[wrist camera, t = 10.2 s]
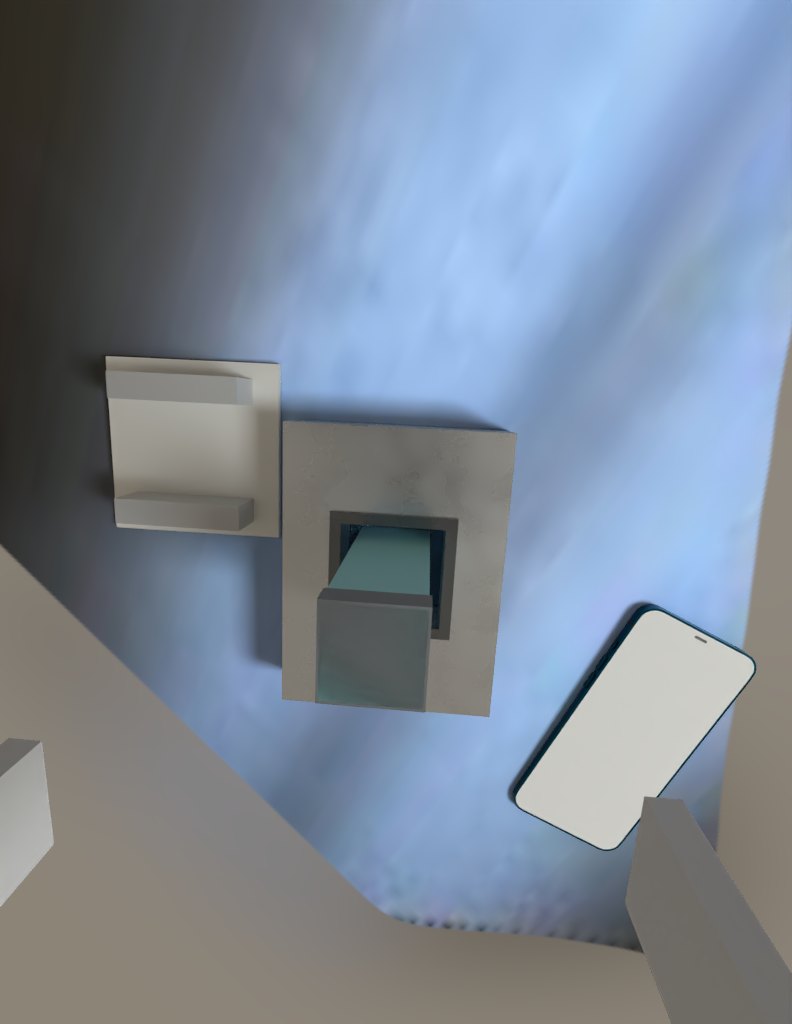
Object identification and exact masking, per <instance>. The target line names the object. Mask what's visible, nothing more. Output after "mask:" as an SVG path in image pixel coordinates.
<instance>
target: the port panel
mask: <svg viewBox="0 0 792 1024" xmlns="http://www.w3.org/2000/svg"><path fill="white" fill-rule="evenodd" d="M516 440H517V433H514V432H511V431H503V430H484V429H465V428H447V427H428V426H409V425H390V424H371V423H352V422H334V421H315V420H288V421H283V544H282V699H284V700H295V701H307V702H315V675H316V621H317V598H318V596H319V595H320V593H321V591H322V590H323V588H328V586H329V585H330V583H331V581H332V579H333V578H334V576H335V574H336V572H337V571H338V569H339V567H340V565H341V564H342V562H343V560H344V558H345V557H346V555H347V553H348V551H349V533H350V524H355V525H371V526H386V527H402V528H417V529H433V530H444V535H443V548H442V562H441V576H440V590H439V604H438V607H434V606H433V609H432V623H431V638H430V652H429V666H428V681H427V695H426V710H425V712H437V713H449V714H461V715H473V716H484V717H489V714H490V704H491V693H492V683H493V673H494V663H495V653H496V643H497V633H498V623H499V612H500V602H501V592H502V582H503V572H504V562H505V552H506V541H507V531H508V521H509V511H510V501H511V491H512V481H513V471H514V460H515V450H516Z"/></svg>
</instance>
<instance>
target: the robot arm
mask: <svg viewBox="0 0 792 1024" xmlns="http://www.w3.org/2000/svg"><path fill="white" fill-rule="evenodd" d="M53 844H54V841H53V832H52V824H51V815H50V807H49V798H48V790H47V781H46V773H45V765H44V756H43V748H42V741H35V740H24V739H13V738H9V739H7V740H6V741H5V742H3V743H2V744H1V745H0V907H1V905H2V904H3V903H4V902H5V901H6V900H7V898H8V897H9V896H10V895H11V894H12V892H13V891H14V890H15V889H16V888H17V887H18V885H19V884H20V883H21V882H22V881H23V880H24V878H25V877H26V876H27V875H28V874H29V873H30V871H31V870H32V869H33V868H34V867H35V865H36V864H37V863H38V862H39V861H40V860H41V858H42V857H43V856H44V855H45V854H46V853H47V851H48V850H49V849H50V848H51V847H52V846H53ZM625 905H626V907H627V910H628V912H629V915H630V918H631V920H632V923H633V925H634V928H635V930H636V933H637V936H638V938H639V941H640V943H641V946H642V949H643V951H644V954H645V956H646V959H647V961H648V964H649V966H650V969H651V972H652V974H653V977H654V980H655V982H656V985H657V987H658V990H659V992H660V995H661V998H662V1000H663V1003H664V1005H665V1008H666V1011H667V1013H668V1016H669V1018H670V1021H671V1023H672V1024H792V973H791V972H790V970H789V968H788V967H787V965H786V964H785V962H784V960H783V959H782V957H781V956H780V954H779V952H778V951H777V950H776V948H775V946H774V945H773V943H772V942H771V940H770V938H769V937H768V935H767V934H766V932H765V930H764V929H763V927H762V926H761V924H760V923H759V921H758V919H757V918H756V916H755V914H754V913H753V911H752V910H751V908H750V907H749V905H748V903H747V902H746V900H745V899H744V897H743V895H742V894H741V892H740V891H739V889H738V888H737V886H736V884H735V883H734V881H733V880H732V878H731V877H730V875H729V873H728V872H727V870H726V869H725V867H724V865H723V864H722V862H721V861H720V859H719V857H718V856H717V854H716V853H715V851H714V849H713V848H712V846H711V845H710V843H709V842H708V840H707V838H706V837H705V835H704V834H703V832H702V830H701V829H700V827H699V826H698V824H697V823H696V821H695V819H694V818H693V816H692V815H691V813H690V811H689V810H688V808H687V807H686V805H685V804H684V802H683V800H680V799H669V798H658V797H647V796H644V801H643V806H642V812H641V817H640V823H639V828H638V834H637V839H636V845H635V850H634V856H633V861H632V866H631V872H630V877H629V883H628V888H627V894H626V899H625Z"/></svg>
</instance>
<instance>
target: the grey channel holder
mask: <svg viewBox="0 0 792 1024" xmlns="http://www.w3.org/2000/svg"><path fill="white" fill-rule="evenodd" d="M105 372H106V387H107V398H108V400H109V415H110V430H111V445H112V460H113V475H114V490H115V498H114V505H115V520H116V523H117V527H124V528H139V529H154V530H169V531H184V532H199V533H214V534H229V535H244V536H259V537H274V538H279V537H280V529H281V365H280V364H266V363H244V362H223V361H202V360H180V359H159V358H138V357H116V356H106V371H105Z"/></svg>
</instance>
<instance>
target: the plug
mask: <svg viewBox="0 0 792 1024" xmlns="http://www.w3.org/2000/svg"><path fill="white" fill-rule="evenodd" d="M432 609H433V600H432V595H430V530H419V529H403V528H388V527H372V526H363V527H362V529H361V530H360V532H359V534H358V536H357V537H356V539H355V541H354V543H353V544H352V546H351V548H350V550H349V551H348V553H347V555H346V557H345V558H344V560H343V562H342V564H341V565H340V567H339V569H338V571H337V572H336V574H335V576H334V578H333V579H332V581H331V583H330V585H329V586H328V588H323V590H322V591H321V593H320V595H319V596H318V598H317V621H316V675H315V703H321V704H332V705H344V706H356V707H368V708H380V709H391V710H403V711H415V712H425V710H426V695H427V681H428V666H429V652H430V638H431V623H432Z"/></svg>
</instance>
